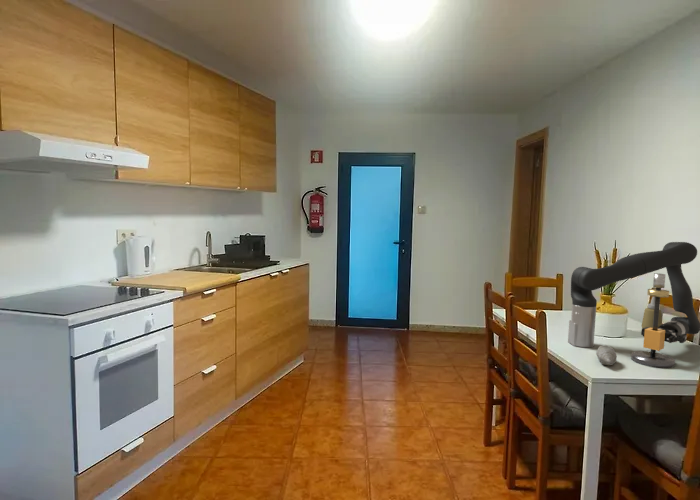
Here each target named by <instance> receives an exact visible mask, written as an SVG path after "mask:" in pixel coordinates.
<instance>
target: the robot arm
mask: <svg viewBox="0 0 700 500" xmlns="http://www.w3.org/2000/svg"><path fill="white" fill-rule="evenodd" d="M697 255H698V249H697V247H696V246H695V245H694V244H692V243H690V242H687V241H672V242H668V243H665V245H664V246H663V248H662V250H655V251H653V250H652V251H646V252H640V253H639V252H638V253H634V254H631V255H626V256H624V257H621V258H619V259H618V260H616V262H614V263H613V264H611V265H607V266H603V267H599V268H592V267H587V266H579V267H576V268H575V269H574V270H573V272H572V274H571V278H570V279H571V280H570V297H571V300H572V303H571V317H570V319H571V320H569V321H568V335H567V342H568V343H569V344H571V345H572V346H573V347H580V348H593V347H594V345H595V332H596V331H595V330H596V317H597V316H596V315H597V303H598V302H597V299H596V297H595V296H594V294H593V291H595V290H599V289H601V288H604V287H606V286H608V285H611V284H613V283H616V282H621V281H625V280H629V279H633V278H636V277H641V276H643V275H646V274H649V273H652V272H656V271H659V270H661V269H666V273H667V276H668V280H669V283H670V288H671V289H670V290H671V297H672V306H673V307H672V308H673V310H674V311H675V312H678V313H682V314H684V315H685V316H673V317H672V318H671V319H670V321H667V322H665V323H662V325H660V326H659V327H658V329H661V330H665V341H664V342H667V343H669V344H672V343H677V342H679V344H684V343H685V342H686V341H687V336H688V335H697V334H699V333H700V320H699V319H698V316H697V314H696V313H697V312H696V311H695V308H694V301H693V300H694V299H693V291H692V289H691V287H690V285H689V283H688V281H687V280H686V277H685V276H684V274H683V270H682V265H685V264H686V265H687V264H689V263H691V262H693V261H694V260H695V259H696V258H697ZM647 328H650V327H645V328H642V327H641V330H640V331H641V332H640V334H641V336H642V337H643V338H644V333H645V329H647ZM687 334H688V335H687Z"/></svg>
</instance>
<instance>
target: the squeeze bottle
mask: <svg viewBox="0 0 700 500" xmlns="http://www.w3.org/2000/svg"><path fill="white" fill-rule="evenodd" d="M651 297H652V298H651V299H650V303H647V307H646V308H644V312H643V317H642V322H641V329H642V328H645V327H650V328H653V318H654V306H655V297H654V296H651ZM662 316H663V315H662V310H661V309H659V319H658V327H659V326H660V325H662V324H663V322H662V321H663V320H662Z"/></svg>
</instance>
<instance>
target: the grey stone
mask: <svg viewBox="0 0 700 500" xmlns="http://www.w3.org/2000/svg"><path fill="white" fill-rule="evenodd" d="M595 355H596V357H597V359H598V360H599V362H600V363H601V364H603V365H605V366H612V365H614V364H615V363H616V361H617V357H618V355H617V353H616V352H615V349H614V348H613V347H611V346H609V345H606V344H605V345H599V347H598V348H597V351H596V353H595Z"/></svg>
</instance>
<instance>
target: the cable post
mask: <svg viewBox="0 0 700 500" xmlns="http://www.w3.org/2000/svg"><path fill="white" fill-rule="evenodd" d="M665 283H666V274H664V273H657V272H656V273H653V282H652V287H653V288H647V296H650V297H655V306H654V318H653V330H654V331H658V319H659V310H660V306H661V298H669V297H670V291H669V290H667V289H665V288H666V287H665V286H666V284H665ZM630 359H631V361H633V362H634V363H636V364H640V365H641V366H647V367H650V368H656V369H658V368H659V369H672V368H675V366H676V365H675V364H676V359H675V358H674V357H672V356H669V355H667V354H663V353H659V352H657V350H653V349H650V351H648V350H647V351H646V350H635V351H632V352H631V356H630Z"/></svg>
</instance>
